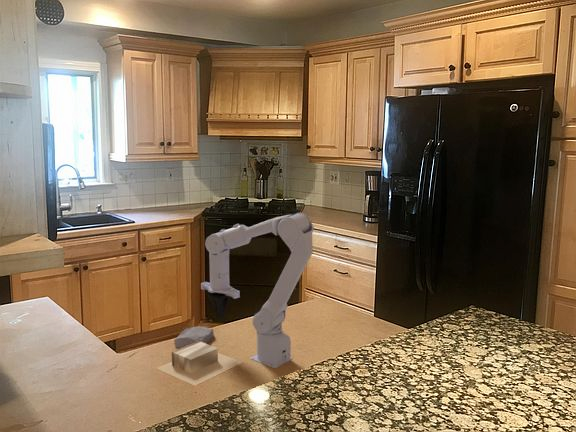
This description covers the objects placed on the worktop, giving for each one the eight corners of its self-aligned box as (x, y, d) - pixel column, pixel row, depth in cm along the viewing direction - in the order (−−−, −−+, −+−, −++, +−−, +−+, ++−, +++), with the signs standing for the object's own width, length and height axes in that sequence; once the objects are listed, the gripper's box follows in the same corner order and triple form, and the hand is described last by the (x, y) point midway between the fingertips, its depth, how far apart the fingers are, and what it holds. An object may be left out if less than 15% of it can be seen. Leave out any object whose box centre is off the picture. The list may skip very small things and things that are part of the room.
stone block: (173, 354, 163) (203, 351, 160) (169, 339, 162) (200, 336, 160) (188, 341, 174) (216, 337, 172) (185, 326, 174) (213, 323, 171)
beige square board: (242, 363, 152) (242, 362, 152) (194, 387, 138) (194, 385, 138) (204, 348, 162) (204, 347, 162) (156, 369, 148) (156, 368, 148)
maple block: (217, 348, 152) (198, 340, 157) (190, 359, 144) (171, 351, 149) (217, 361, 153) (198, 353, 158) (191, 373, 145) (172, 365, 150)
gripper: (192, 271, 159) (193, 314, 162) (227, 280, 150) (227, 325, 153) (210, 266, 165) (211, 308, 167) (244, 274, 156) (244, 319, 158)
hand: (220, 316), depth 160 cm, fingers closed
